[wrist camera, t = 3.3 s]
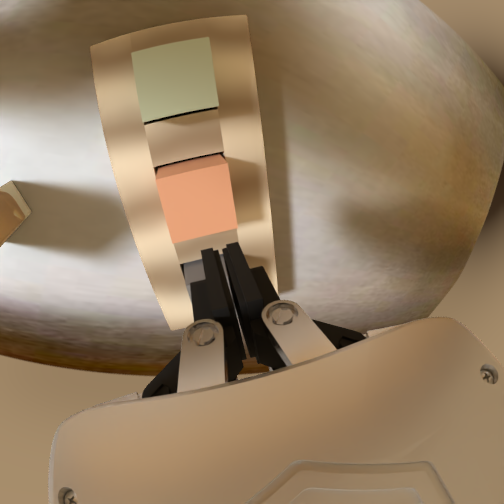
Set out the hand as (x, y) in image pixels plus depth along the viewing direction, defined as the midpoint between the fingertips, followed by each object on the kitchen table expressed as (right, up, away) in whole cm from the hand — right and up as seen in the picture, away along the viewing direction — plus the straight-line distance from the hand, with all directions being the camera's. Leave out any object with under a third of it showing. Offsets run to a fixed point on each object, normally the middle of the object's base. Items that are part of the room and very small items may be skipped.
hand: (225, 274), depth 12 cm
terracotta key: (-4, +6, +10) cm, 12 cm away
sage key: (-5, +14, +5) cm, 15 cm away
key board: (-4, +7, +12) cm, 14 cm away
